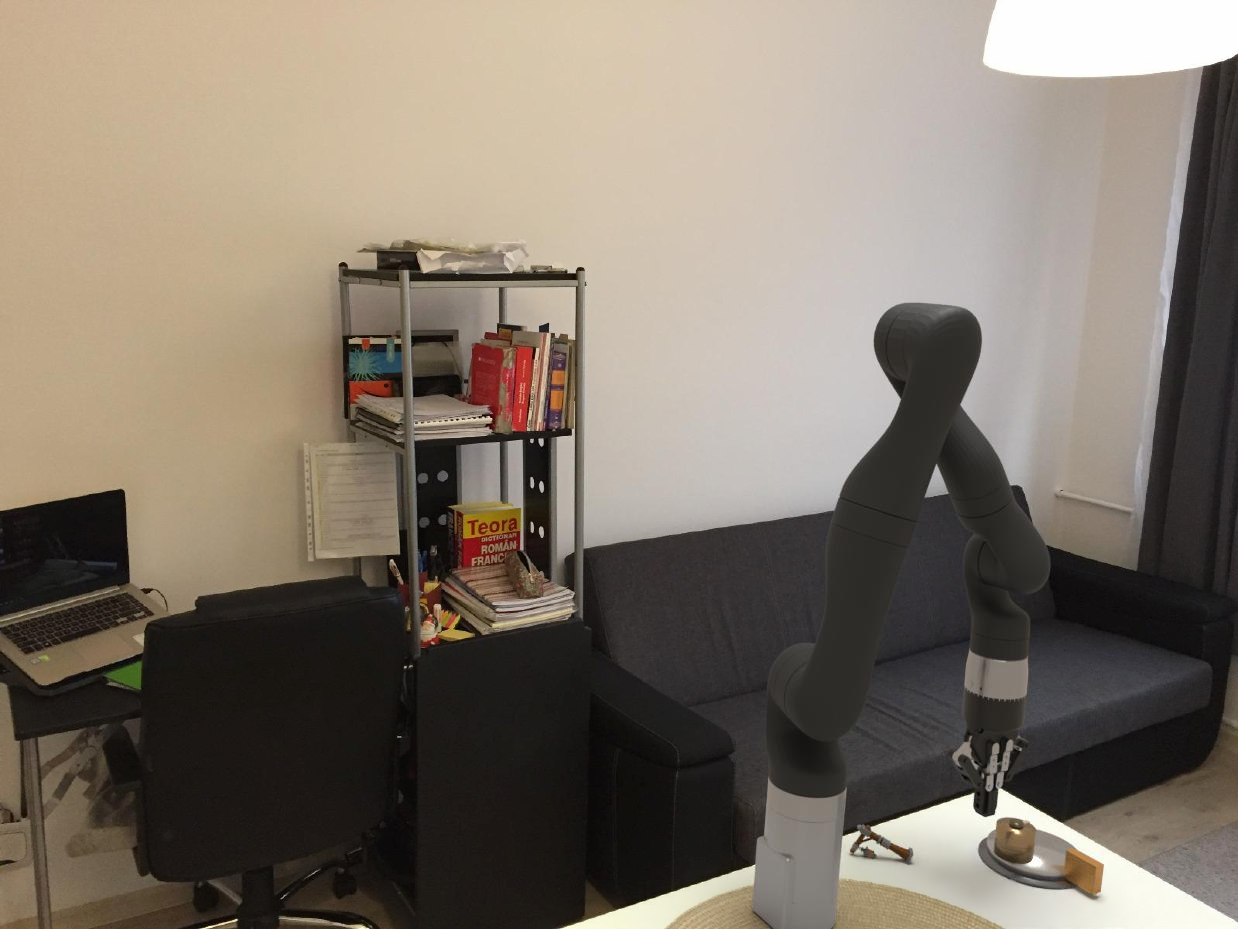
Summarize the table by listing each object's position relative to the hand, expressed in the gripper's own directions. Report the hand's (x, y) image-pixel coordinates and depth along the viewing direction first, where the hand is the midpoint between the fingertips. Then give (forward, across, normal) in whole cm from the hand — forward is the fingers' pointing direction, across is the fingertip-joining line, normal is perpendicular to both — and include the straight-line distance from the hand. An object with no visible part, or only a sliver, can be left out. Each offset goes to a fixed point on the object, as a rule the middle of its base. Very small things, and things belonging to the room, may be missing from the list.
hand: (984, 813), depth 135 cm
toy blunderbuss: (+9, -8, +9) cm, 16 cm away
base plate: (+9, +10, 0) cm, 14 cm away
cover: (+7, +7, 0) cm, 10 cm away
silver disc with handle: (+9, +11, -2) cm, 14 cm away
